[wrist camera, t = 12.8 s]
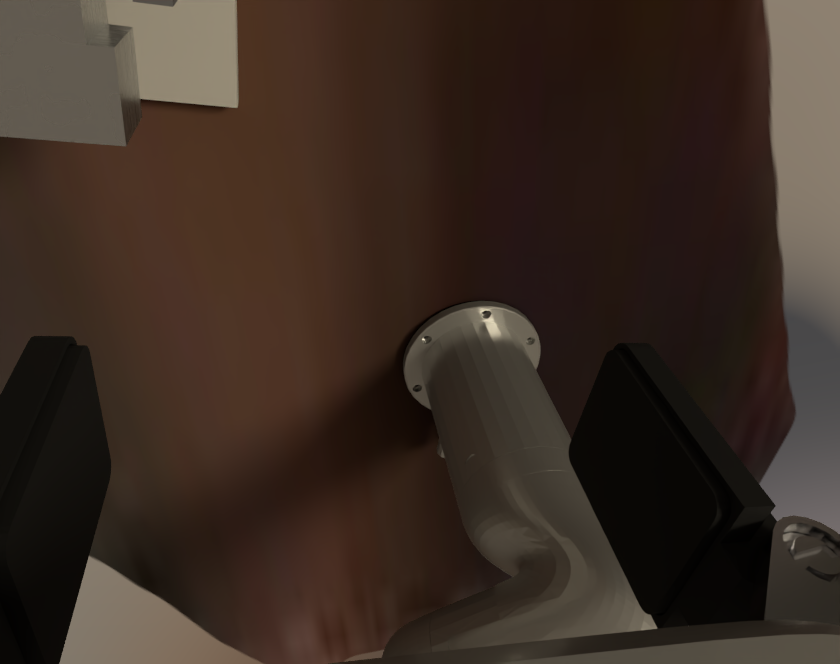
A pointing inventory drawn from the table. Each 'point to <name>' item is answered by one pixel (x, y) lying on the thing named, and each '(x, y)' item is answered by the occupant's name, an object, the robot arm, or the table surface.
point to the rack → (183, 48)
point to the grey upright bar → (67, 73)
